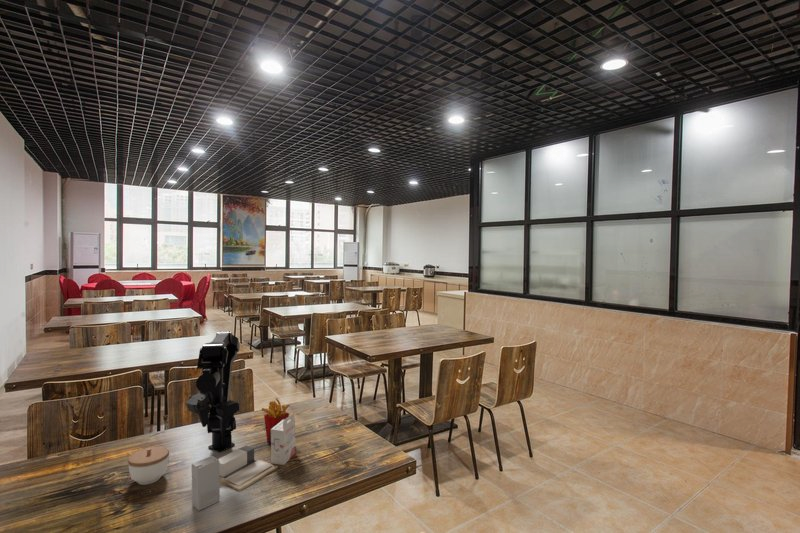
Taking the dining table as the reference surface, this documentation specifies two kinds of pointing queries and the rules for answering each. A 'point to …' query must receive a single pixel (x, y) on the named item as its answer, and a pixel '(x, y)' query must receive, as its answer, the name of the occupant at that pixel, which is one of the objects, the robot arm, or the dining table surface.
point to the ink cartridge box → (283, 441)
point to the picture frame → (247, 474)
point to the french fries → (274, 416)
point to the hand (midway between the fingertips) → (213, 429)
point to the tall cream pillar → (235, 460)
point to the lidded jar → (148, 464)
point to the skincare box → (205, 482)
